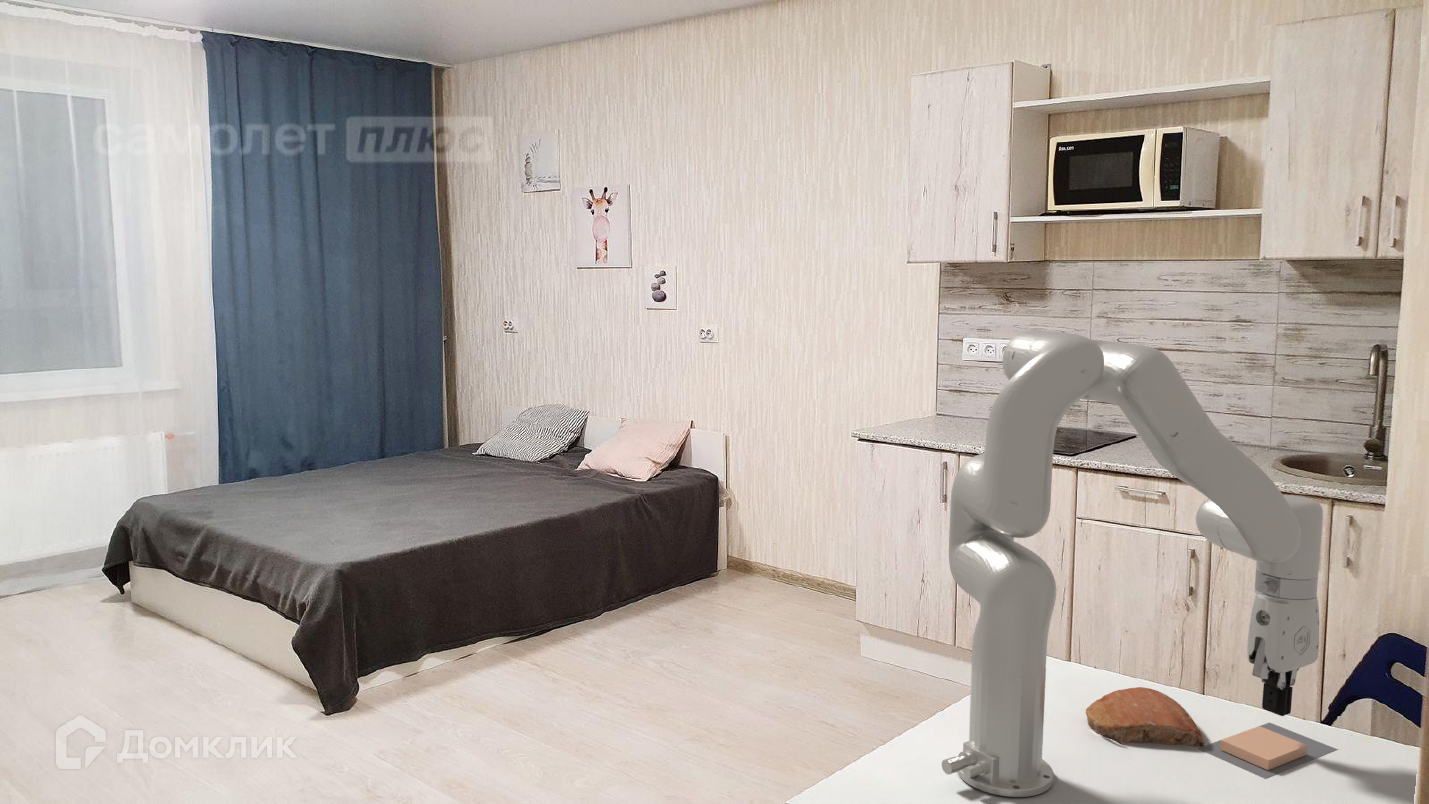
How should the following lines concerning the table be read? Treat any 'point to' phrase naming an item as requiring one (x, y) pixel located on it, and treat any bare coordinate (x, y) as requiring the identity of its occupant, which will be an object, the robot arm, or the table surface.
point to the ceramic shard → (1143, 718)
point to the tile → (1263, 747)
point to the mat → (1313, 752)
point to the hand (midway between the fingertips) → (1276, 711)
